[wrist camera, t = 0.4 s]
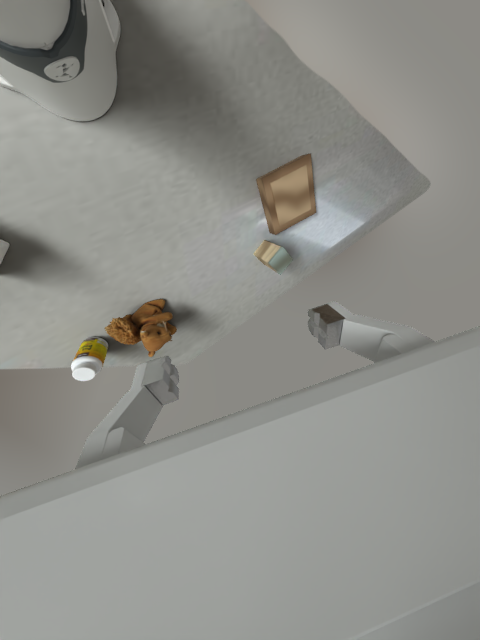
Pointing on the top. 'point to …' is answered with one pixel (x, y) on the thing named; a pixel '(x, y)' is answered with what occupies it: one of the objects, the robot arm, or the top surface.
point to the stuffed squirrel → (144, 327)
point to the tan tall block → (273, 256)
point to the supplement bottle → (89, 358)
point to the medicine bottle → (3, 249)
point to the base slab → (288, 194)
